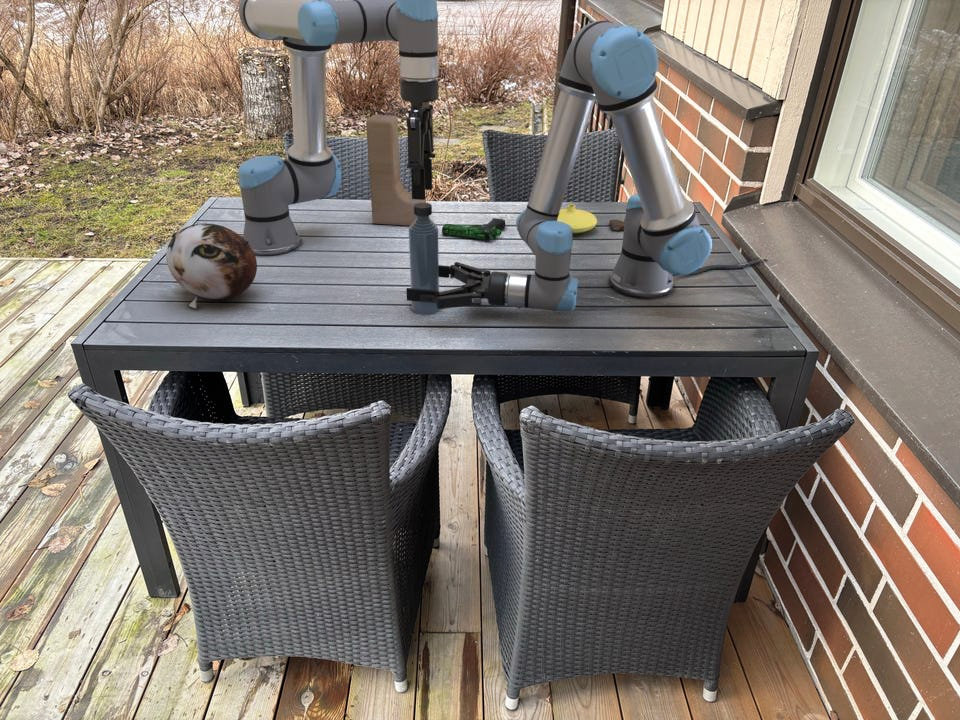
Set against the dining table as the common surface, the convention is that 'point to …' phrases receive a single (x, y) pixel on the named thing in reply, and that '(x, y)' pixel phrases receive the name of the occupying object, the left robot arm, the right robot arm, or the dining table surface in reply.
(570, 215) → the yellow lid
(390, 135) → the decorative block
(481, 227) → the handgun
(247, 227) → the left robot arm
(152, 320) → the dining table surface
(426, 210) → the cap
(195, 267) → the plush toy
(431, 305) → the bottle
